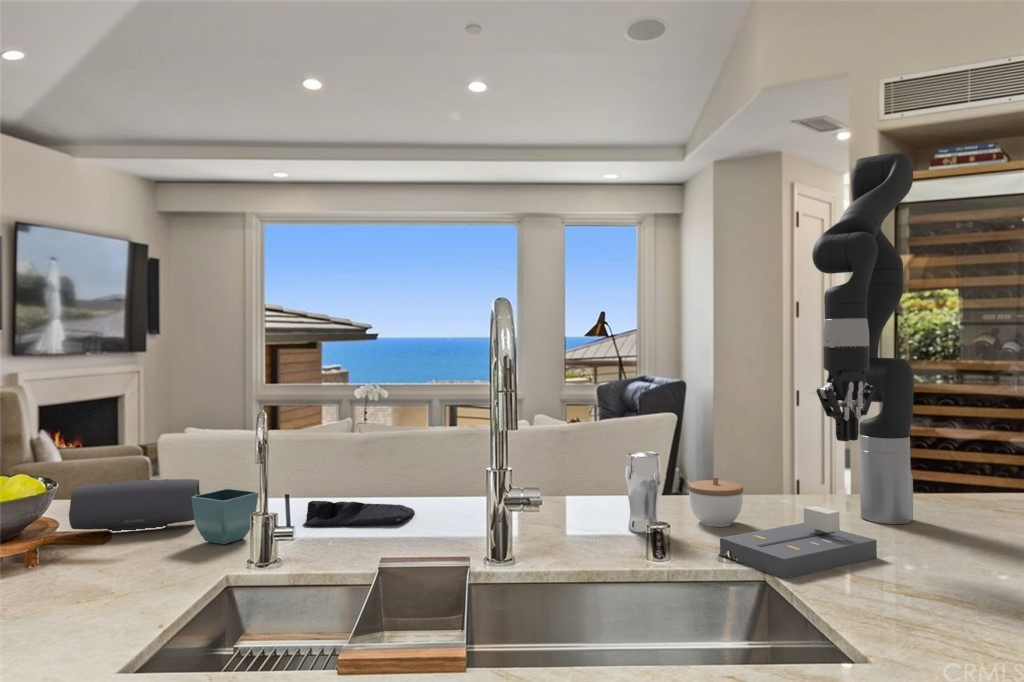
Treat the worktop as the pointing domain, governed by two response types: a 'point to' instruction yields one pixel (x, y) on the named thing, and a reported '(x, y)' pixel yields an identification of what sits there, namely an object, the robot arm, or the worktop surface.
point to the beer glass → (642, 488)
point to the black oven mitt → (354, 514)
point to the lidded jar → (716, 501)
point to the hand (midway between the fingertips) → (847, 440)
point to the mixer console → (798, 549)
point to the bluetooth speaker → (132, 504)
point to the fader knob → (821, 519)
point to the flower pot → (224, 514)
